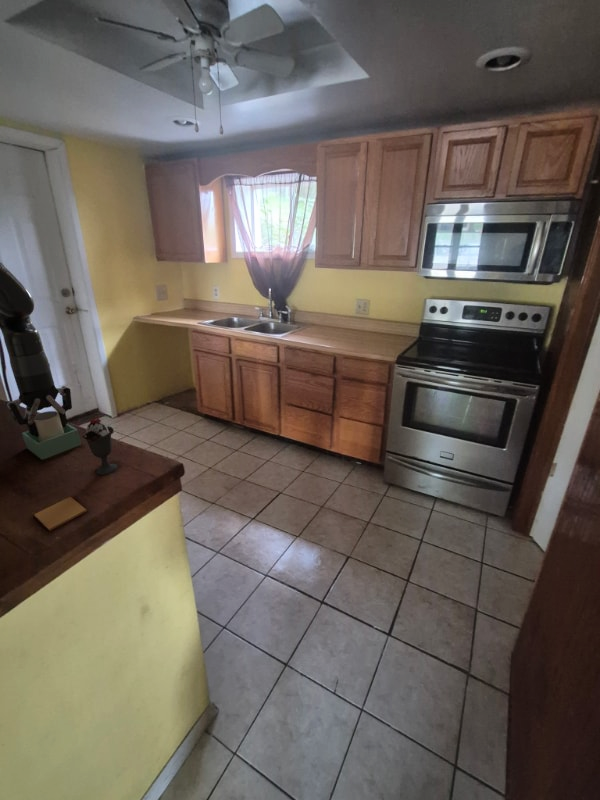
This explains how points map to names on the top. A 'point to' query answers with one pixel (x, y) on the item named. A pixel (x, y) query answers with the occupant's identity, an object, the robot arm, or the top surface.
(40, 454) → the bin
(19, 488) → the top surface
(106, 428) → the sundae
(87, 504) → the top surface
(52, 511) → the coaster
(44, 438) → the coffee cup
